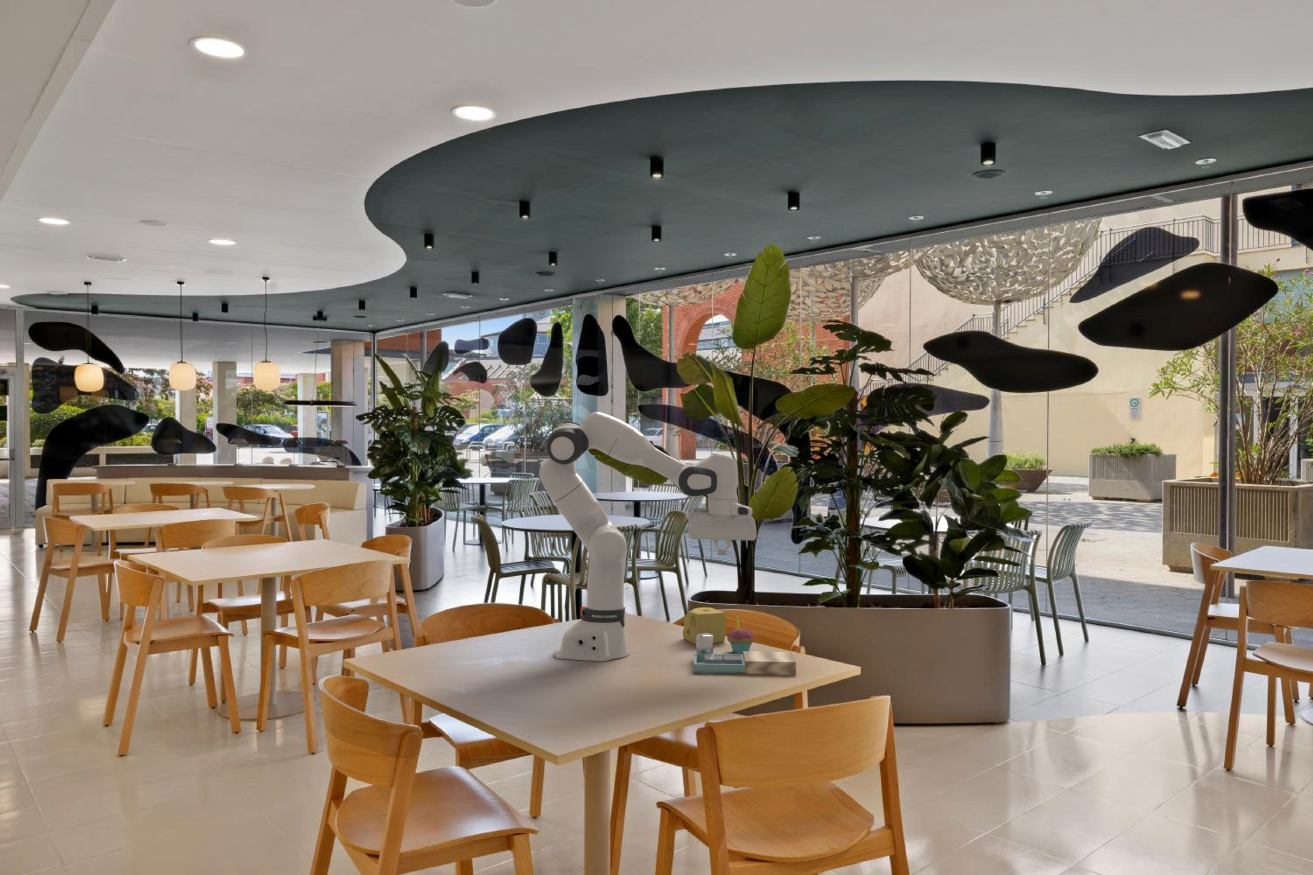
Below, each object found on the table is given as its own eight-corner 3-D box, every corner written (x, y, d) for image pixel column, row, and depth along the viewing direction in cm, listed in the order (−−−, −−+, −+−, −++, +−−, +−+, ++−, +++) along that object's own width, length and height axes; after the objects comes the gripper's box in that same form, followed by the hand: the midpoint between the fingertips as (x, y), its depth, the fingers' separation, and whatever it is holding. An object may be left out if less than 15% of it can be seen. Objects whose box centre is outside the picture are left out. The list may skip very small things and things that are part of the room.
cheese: (682, 639, 296) (682, 608, 296) (711, 636, 300) (711, 606, 300) (697, 645, 286) (697, 614, 286) (727, 642, 291) (727, 611, 291)
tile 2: (724, 668, 255) (724, 659, 255) (723, 664, 260) (723, 655, 260) (741, 668, 255) (741, 659, 255) (740, 664, 260) (740, 655, 260)
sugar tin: (696, 660, 267) (696, 636, 267) (696, 656, 272) (696, 633, 272) (713, 660, 267) (713, 636, 267) (713, 656, 272) (713, 633, 272)
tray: (694, 672, 252) (694, 663, 252) (694, 662, 265) (694, 653, 265) (745, 673, 251) (745, 664, 251) (743, 662, 264) (743, 654, 264)
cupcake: (745, 656, 272) (745, 616, 272) (721, 652, 277) (721, 613, 277) (759, 651, 278) (759, 612, 279) (736, 647, 284) (736, 609, 284)
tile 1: (722, 659, 255) (722, 668, 255) (722, 655, 260) (722, 663, 260) (704, 659, 256) (704, 668, 256) (704, 654, 261) (704, 663, 261)
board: (745, 673, 252) (745, 661, 252) (743, 663, 264) (743, 651, 264) (795, 674, 251) (795, 661, 251) (791, 663, 263) (791, 651, 263)
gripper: (687, 508, 267) (687, 555, 267) (757, 509, 266) (756, 556, 266) (688, 507, 274) (687, 552, 274) (756, 508, 273) (755, 554, 273)
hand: (722, 554), depth 270 cm, fingers closed
